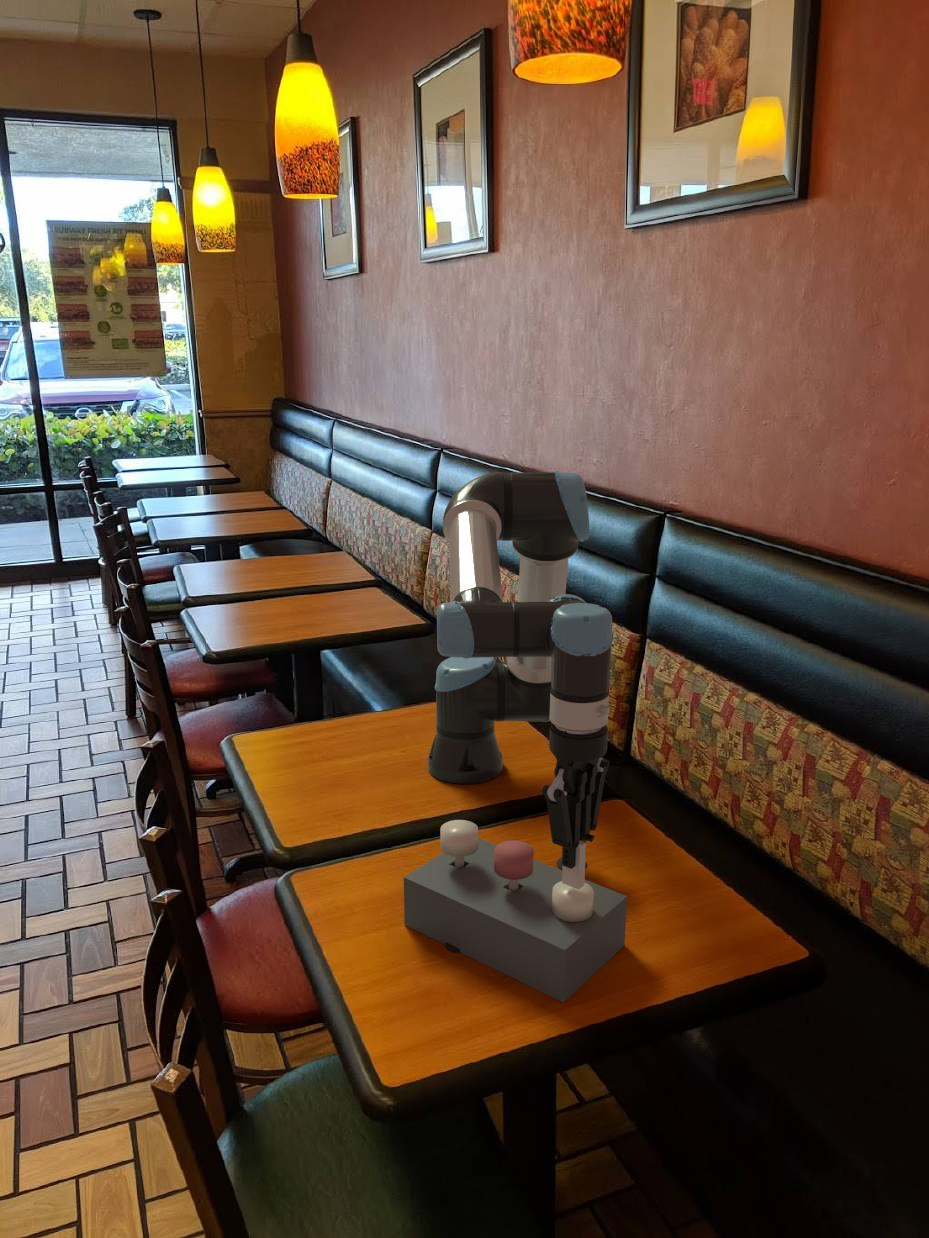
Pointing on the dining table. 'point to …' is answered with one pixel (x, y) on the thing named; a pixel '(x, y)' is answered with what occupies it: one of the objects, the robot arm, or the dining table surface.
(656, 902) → the dining table surface
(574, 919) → the cream knob
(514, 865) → the pink knob
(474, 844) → the cream knob
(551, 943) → the control box
